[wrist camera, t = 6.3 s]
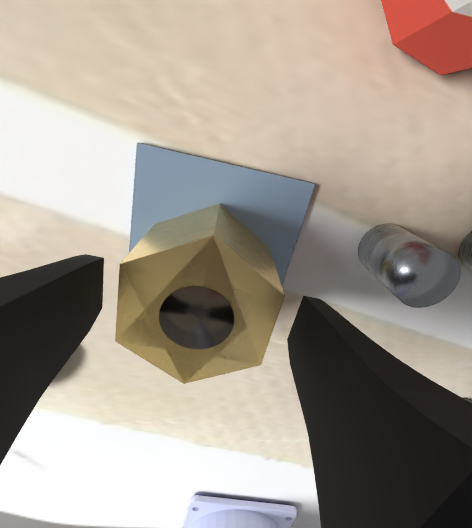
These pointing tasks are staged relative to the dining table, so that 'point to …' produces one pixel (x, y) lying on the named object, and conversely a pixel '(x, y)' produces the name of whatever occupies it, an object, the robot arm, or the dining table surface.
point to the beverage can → (432, 32)
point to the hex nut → (198, 296)
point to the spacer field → (412, 265)
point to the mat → (218, 197)
